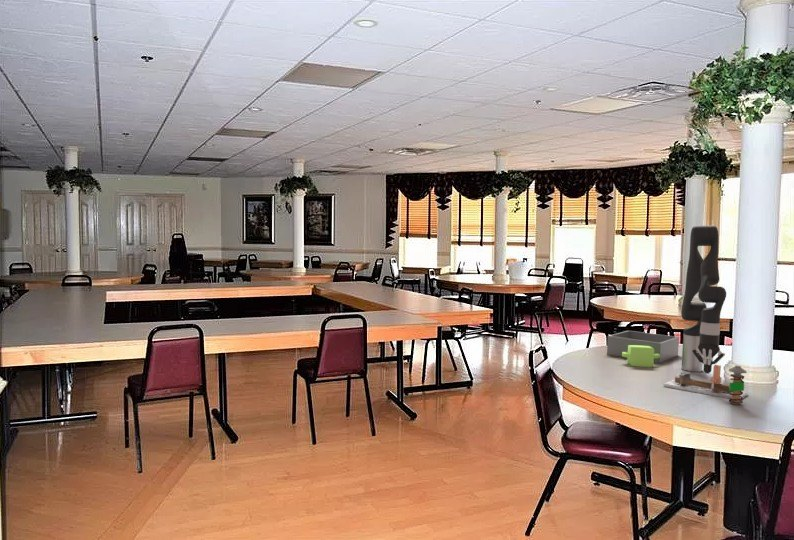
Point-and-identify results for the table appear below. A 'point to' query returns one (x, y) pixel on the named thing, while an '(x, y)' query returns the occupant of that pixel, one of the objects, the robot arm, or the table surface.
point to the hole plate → (701, 389)
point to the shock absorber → (736, 384)
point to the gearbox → (640, 355)
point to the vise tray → (643, 344)
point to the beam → (698, 382)
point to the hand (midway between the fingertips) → (707, 373)
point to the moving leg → (716, 376)
